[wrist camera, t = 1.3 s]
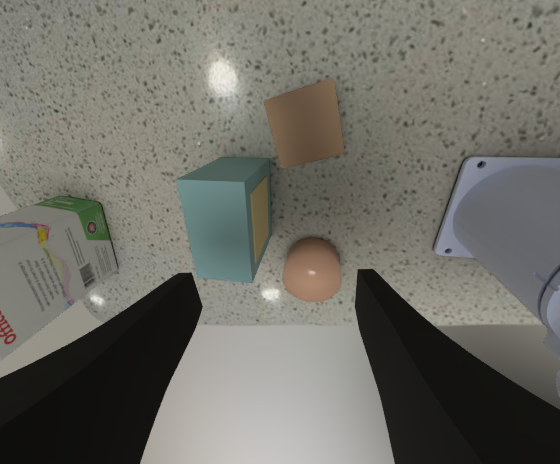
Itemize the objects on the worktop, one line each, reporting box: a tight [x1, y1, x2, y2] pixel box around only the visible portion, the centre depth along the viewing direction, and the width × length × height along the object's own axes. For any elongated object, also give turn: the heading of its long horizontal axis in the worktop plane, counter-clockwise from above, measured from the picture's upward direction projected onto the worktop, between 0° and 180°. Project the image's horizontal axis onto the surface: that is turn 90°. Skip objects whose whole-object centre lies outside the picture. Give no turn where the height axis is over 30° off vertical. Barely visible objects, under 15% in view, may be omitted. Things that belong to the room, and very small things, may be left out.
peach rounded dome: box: [283, 238, 342, 302], centre depth 21 cm, size 5×5×3 cm
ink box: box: [0, 196, 118, 361], centre depth 20 cm, size 8×5×12 cm, turn 173°
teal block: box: [176, 157, 271, 283], centre depth 18 cm, size 4×7×7 cm, turn 0°
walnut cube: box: [264, 78, 345, 169], centre depth 16 cm, size 4×4×4 cm
